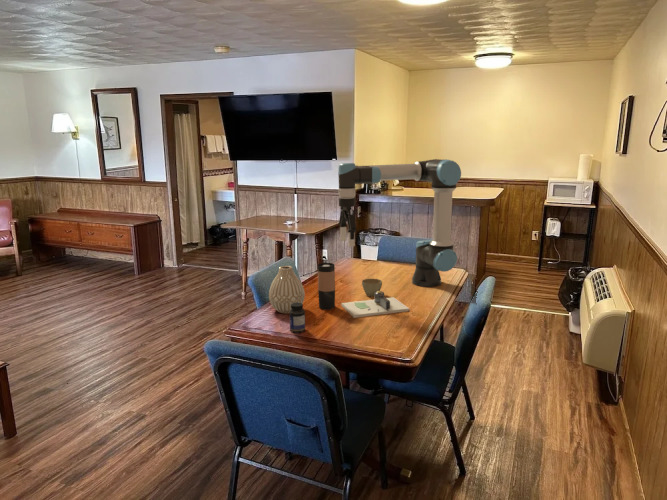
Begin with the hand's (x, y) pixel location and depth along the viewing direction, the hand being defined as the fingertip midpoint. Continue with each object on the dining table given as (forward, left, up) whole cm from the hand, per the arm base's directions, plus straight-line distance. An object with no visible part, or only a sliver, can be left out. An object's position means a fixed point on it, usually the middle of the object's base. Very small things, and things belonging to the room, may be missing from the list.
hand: (347, 243), depth 223 cm
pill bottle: (+31, +29, -28) cm, 51 cm away
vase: (+30, +4, -28) cm, 41 cm away
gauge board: (-8, +15, -28) cm, 32 cm away
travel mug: (+12, +6, -28) cm, 31 cm away
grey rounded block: (-11, +17, -26) cm, 32 cm away
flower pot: (-14, -4, -28) cm, 31 cm away
